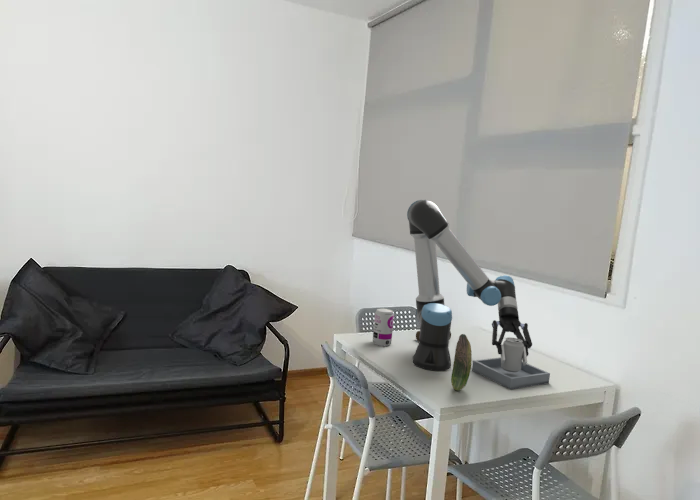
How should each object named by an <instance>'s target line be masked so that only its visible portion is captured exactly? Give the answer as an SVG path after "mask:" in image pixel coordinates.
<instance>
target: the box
mask: <svg viewBox="0 0 700 500" xmlns="http://www.w3.org/2000/svg"><path fill="white" fill-rule="evenodd" d="M471 371H472V372H475V373H476V374H478V375H480V376H482V377H484V378H486V379H489V380H490V381H492V382H494V383H496V384H498V385H501V386H502V387H503V388H506V389H508V390H516V389H521V388H522V389H523V388H529V387H536V386H541V385H548V384H550V377H551V376H550V375H551V373H550V372H548V371H546V370H543V369H541V368H539V367H536V366H535V365H532V364H529V363H528V362H527V363H526V365H523V361H522V365H521V370H520V371H518V372H516V373H513V372H508V371H505V370H503V369H502V367H501V356H500V357H493V358H484V359H483V358H482V359H476V360H475V359H474V360H473V359H472V364H471Z"/></svg>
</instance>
